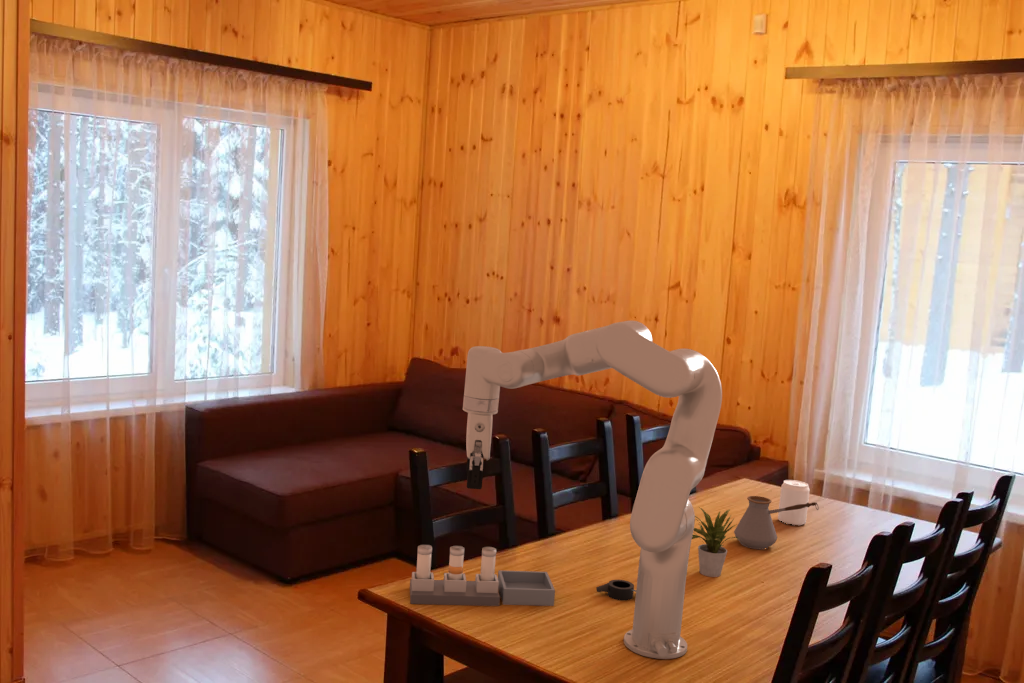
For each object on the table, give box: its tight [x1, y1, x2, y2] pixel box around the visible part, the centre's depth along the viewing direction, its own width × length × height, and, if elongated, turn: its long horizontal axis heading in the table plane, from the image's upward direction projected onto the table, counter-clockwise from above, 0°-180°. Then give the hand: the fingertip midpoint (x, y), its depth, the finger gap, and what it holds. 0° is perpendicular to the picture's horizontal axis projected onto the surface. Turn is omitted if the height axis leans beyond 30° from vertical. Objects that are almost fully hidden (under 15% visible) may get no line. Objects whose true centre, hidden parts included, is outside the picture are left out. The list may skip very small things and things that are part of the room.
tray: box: [497, 569, 556, 607], centre depth 217 cm, size 11×11×4 cm
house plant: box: [692, 506, 739, 578], centre depth 242 cm, size 14×14×16 cm
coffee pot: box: [733, 495, 820, 550], centre depth 264 cm, size 21×12×15 cm, turn 61°
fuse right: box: [480, 546, 497, 581], centre depth 214 cm, size 3×3×9 cm
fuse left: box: [415, 544, 433, 579], centre depth 212 cm, size 3×3×9 cm
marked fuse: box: [447, 545, 465, 580], centre depth 213 cm, size 3×3×9 cm
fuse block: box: [409, 571, 501, 607], centre depth 213 cm, size 9×19×4 cm, turn 97°
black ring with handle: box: [595, 579, 636, 602], centre depth 222 cm, size 8×10×3 cm
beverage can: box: [777, 479, 811, 526], centre depth 291 cm, size 8×8×12 cm
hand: (473, 482), depth 211 cm, fingers open, 9 cm apart
